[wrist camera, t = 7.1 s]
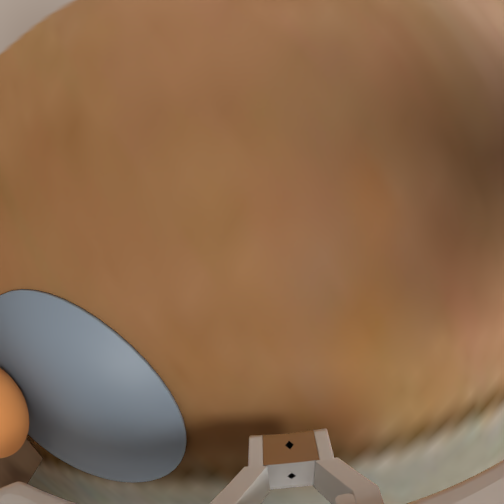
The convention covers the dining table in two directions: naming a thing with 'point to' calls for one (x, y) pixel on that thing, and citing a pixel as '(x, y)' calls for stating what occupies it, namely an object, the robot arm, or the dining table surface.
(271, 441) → the robot arm
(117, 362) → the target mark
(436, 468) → the dining table surface
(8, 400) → the ball
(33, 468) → the block
